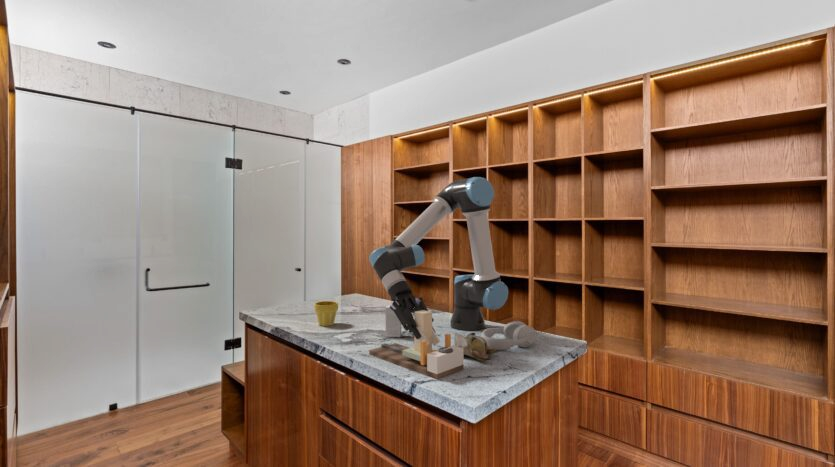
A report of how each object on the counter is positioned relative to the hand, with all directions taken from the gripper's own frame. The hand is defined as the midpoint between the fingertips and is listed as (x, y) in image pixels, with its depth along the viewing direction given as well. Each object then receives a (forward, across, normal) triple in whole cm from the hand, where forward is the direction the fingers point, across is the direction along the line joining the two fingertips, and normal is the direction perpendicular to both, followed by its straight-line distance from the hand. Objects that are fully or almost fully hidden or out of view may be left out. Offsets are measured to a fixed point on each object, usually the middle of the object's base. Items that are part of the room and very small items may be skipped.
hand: (431, 344), depth 126 cm
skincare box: (-20, -16, -31) cm, 40 cm away
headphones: (+7, -39, -4) cm, 40 cm away
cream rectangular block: (+8, 0, 0) cm, 8 cm away
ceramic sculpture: (+8, -18, -3) cm, 20 cm away
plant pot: (-46, -6, -56) cm, 73 cm away
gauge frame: (+4, 0, -2) cm, 5 cm away
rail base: (-1, 0, -11) cm, 11 cm away
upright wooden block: (+1, 0, -6) cm, 6 cm away
